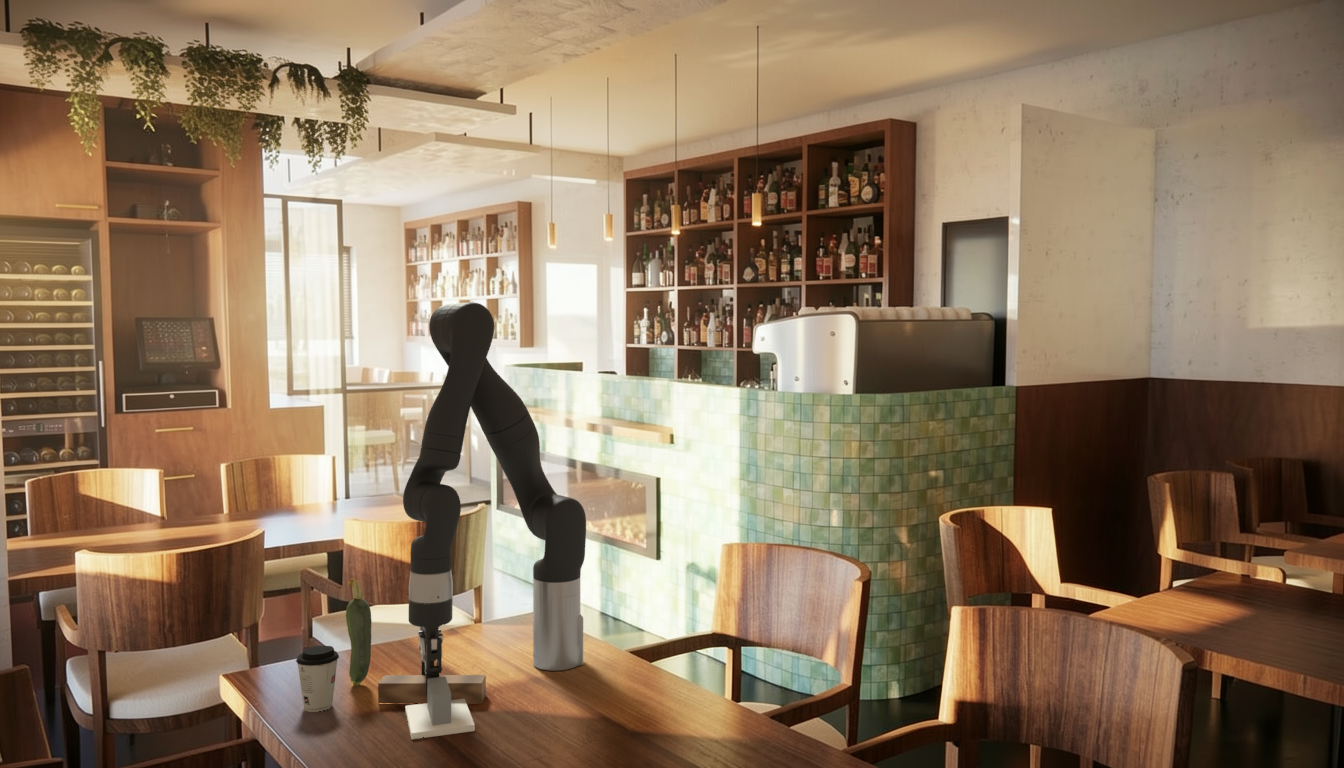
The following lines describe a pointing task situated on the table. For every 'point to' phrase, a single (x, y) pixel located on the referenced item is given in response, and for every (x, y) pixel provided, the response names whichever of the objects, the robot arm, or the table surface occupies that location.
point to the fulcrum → (438, 713)
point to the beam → (415, 688)
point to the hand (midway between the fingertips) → (429, 685)
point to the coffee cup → (317, 677)
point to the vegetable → (359, 633)
